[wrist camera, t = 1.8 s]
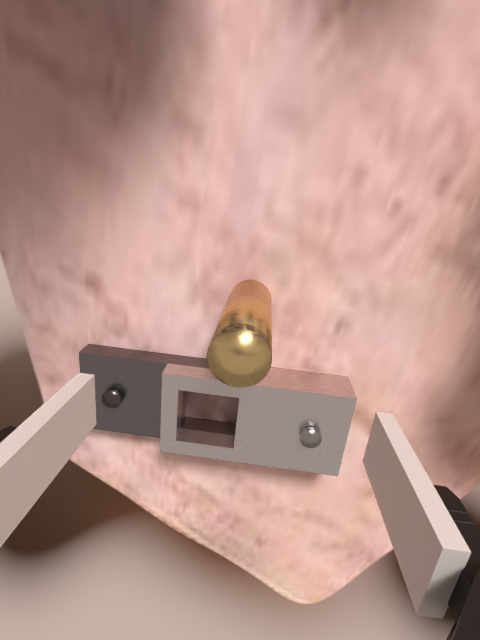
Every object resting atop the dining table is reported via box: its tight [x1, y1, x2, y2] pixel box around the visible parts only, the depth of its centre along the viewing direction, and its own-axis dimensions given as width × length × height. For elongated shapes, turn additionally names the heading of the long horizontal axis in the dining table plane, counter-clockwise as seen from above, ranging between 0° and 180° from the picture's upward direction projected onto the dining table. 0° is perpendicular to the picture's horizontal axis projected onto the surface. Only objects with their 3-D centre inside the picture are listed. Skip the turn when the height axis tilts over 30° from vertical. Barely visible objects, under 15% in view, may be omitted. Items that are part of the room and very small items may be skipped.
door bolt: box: [79, 344, 357, 476], centre depth 36 cm, size 9×27×5 cm, turn 84°
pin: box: [207, 280, 272, 388], centre depth 28 cm, size 4×4×13 cm
